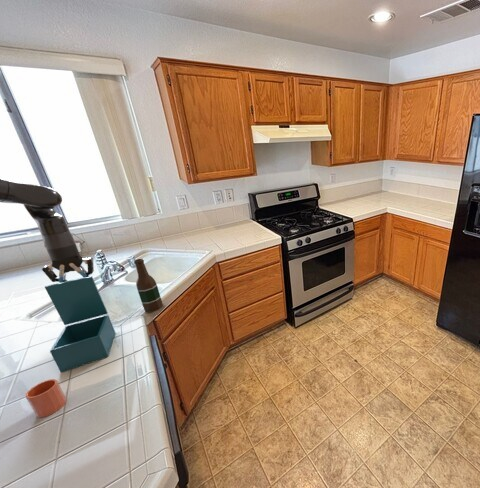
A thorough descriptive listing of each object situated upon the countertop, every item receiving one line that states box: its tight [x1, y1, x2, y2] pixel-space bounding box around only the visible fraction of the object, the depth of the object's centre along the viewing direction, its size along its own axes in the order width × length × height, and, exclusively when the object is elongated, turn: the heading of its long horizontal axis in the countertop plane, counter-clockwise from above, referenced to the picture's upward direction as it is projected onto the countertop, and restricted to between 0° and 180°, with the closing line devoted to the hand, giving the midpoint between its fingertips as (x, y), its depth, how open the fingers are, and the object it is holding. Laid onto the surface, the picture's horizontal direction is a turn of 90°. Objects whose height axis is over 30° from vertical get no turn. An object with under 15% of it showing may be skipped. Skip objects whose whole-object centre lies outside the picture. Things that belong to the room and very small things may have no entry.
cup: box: [25, 378, 67, 418], centre depth 72 cm, size 6×6×7 cm
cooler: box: [49, 314, 116, 373], centre depth 94 cm, size 16×13×9 cm
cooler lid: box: [44, 275, 109, 326], centre depth 97 cm, size 16×13×5 cm
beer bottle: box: [133, 258, 163, 313], centre depth 117 cm, size 8×8×24 cm
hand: (78, 287), depth 98 cm, fingers closed on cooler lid, 5 cm apart
